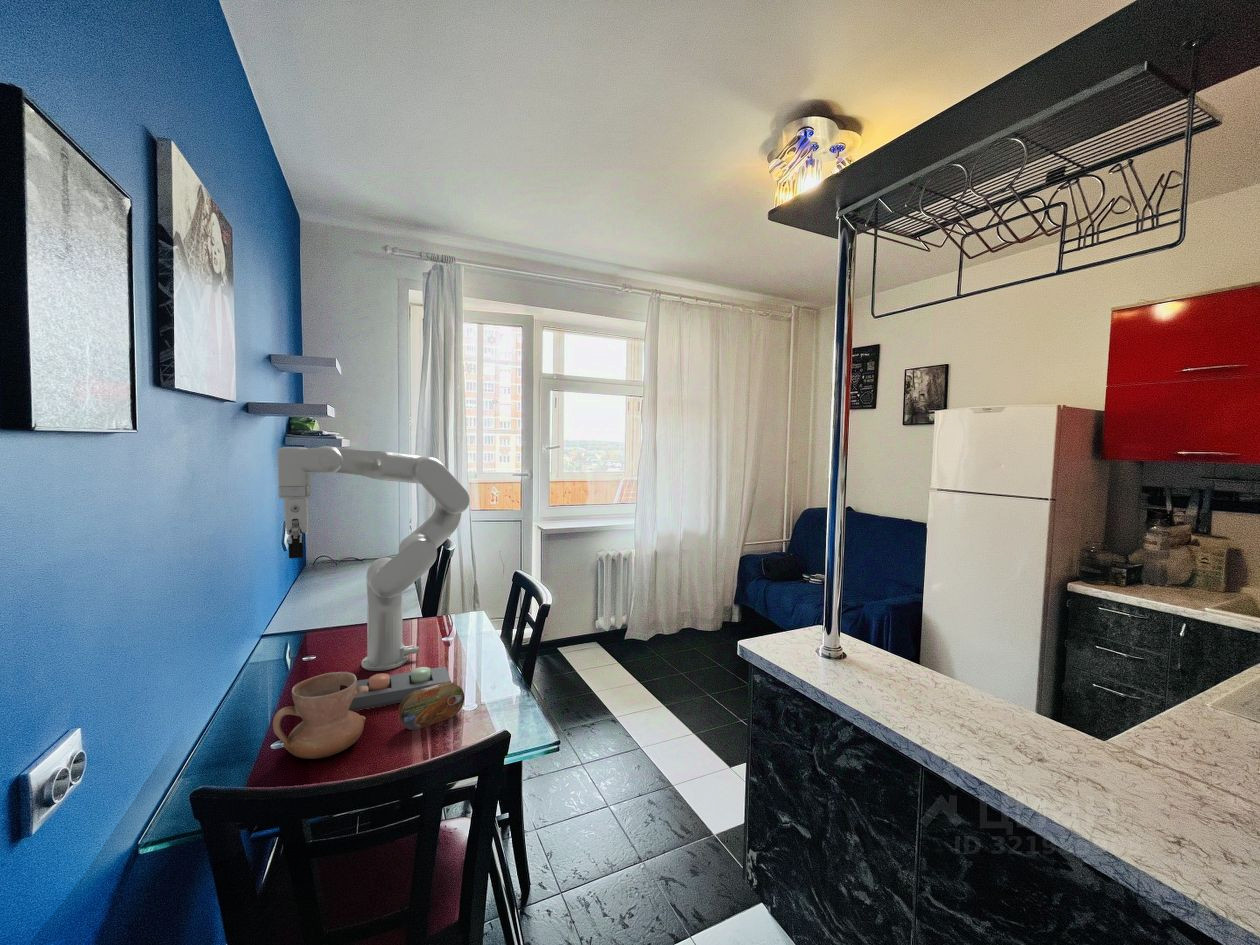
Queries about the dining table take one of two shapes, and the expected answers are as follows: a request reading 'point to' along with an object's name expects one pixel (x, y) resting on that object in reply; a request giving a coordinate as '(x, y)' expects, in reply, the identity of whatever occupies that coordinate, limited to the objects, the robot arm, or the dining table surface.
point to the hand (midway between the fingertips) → (296, 554)
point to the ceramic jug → (322, 716)
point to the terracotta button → (379, 682)
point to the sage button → (420, 675)
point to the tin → (431, 705)
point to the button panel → (395, 689)
